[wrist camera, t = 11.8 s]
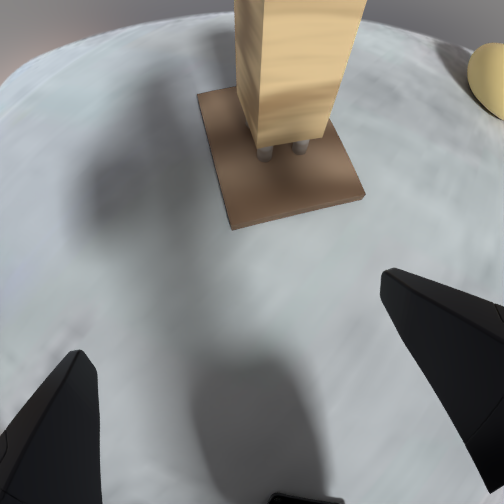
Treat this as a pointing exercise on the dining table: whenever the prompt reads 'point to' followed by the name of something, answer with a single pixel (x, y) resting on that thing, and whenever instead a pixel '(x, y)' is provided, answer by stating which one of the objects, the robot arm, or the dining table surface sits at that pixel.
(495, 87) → the sculpture
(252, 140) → the peg base
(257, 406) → the dining table surface
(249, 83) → the oak block
